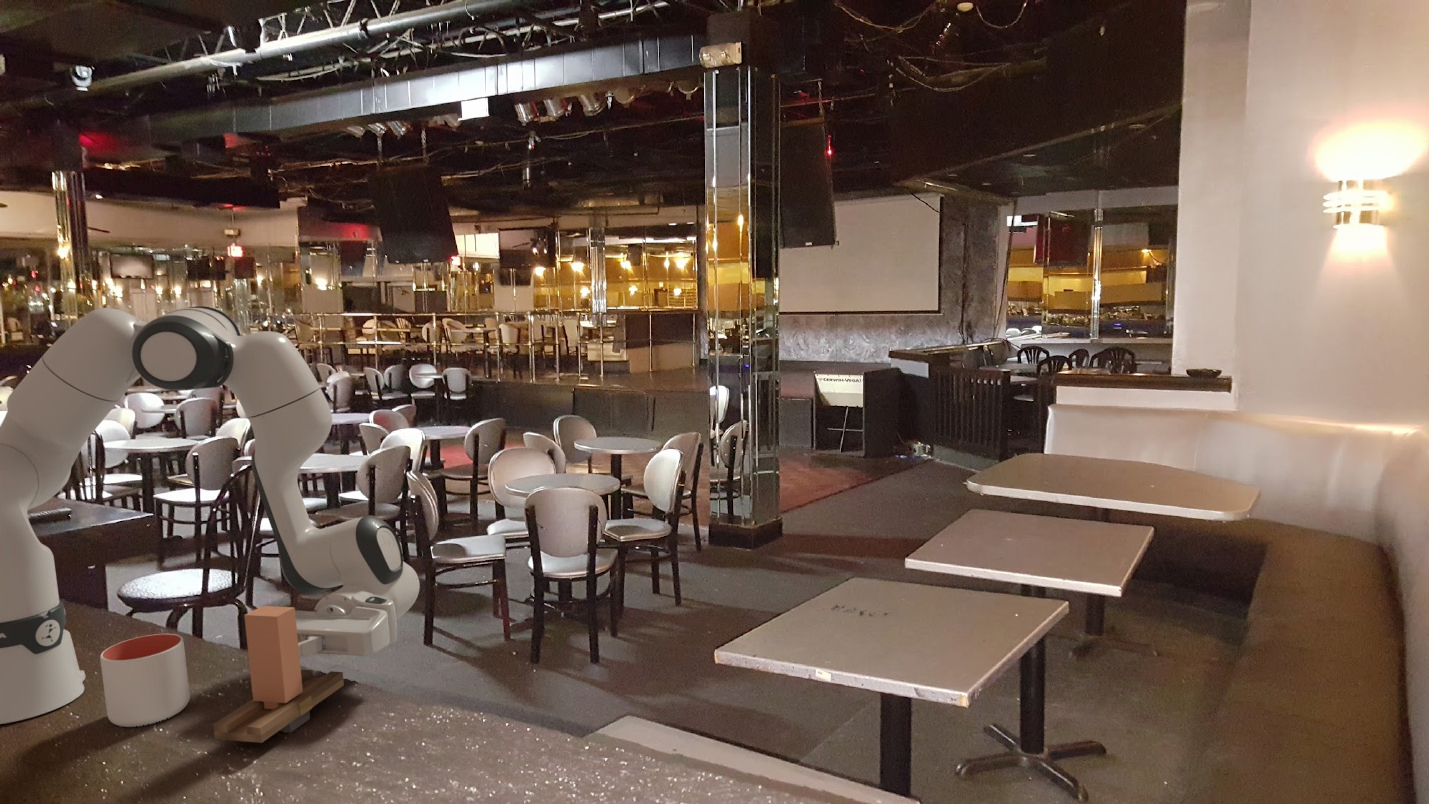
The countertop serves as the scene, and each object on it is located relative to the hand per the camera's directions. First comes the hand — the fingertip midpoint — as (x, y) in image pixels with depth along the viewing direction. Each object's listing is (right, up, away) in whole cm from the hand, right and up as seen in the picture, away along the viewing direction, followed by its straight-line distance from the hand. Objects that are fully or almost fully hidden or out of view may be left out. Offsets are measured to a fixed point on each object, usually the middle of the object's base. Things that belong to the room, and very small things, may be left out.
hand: (283, 654), depth 124 cm
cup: (-21, -10, +5) cm, 24 cm away
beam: (0, -10, 0) cm, 10 cm away
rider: (0, -7, -1) cm, 7 cm away
